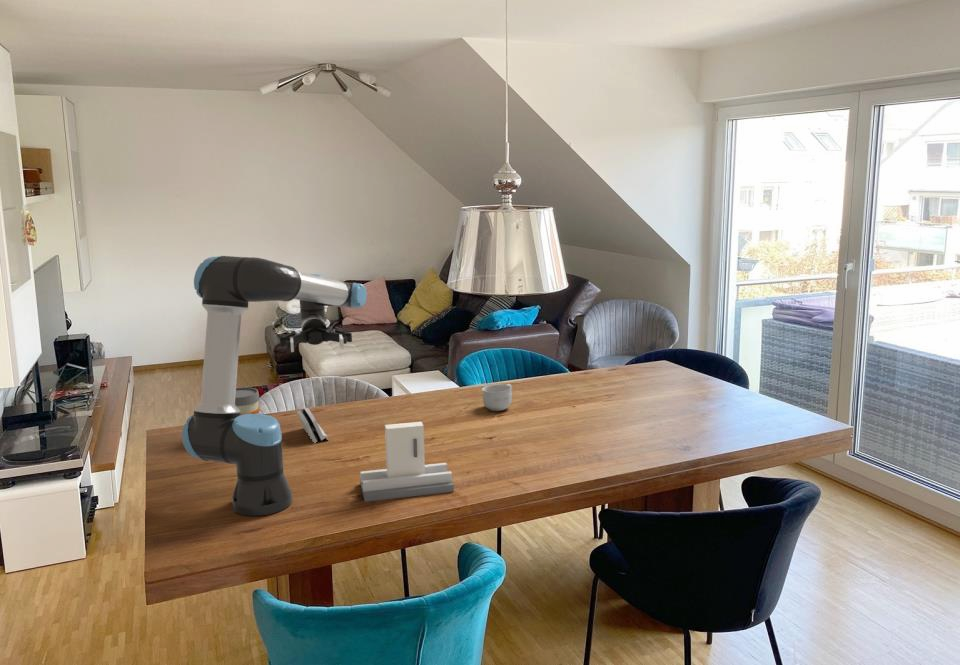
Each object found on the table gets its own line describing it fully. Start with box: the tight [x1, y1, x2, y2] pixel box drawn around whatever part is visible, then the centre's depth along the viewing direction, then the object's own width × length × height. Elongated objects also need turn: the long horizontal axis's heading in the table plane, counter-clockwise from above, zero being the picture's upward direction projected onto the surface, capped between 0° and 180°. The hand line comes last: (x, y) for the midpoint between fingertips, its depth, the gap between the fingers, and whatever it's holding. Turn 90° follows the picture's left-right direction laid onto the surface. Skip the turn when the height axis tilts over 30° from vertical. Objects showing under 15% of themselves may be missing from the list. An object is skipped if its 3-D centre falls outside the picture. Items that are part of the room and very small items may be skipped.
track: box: [359, 462, 455, 503], centre depth 210 cm, size 24×12×4 cm, turn 104°
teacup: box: [481, 383, 513, 412], centre depth 279 cm, size 14×11×8 cm
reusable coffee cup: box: [235, 386, 261, 415], centre depth 251 cm, size 13×12×15 cm
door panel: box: [384, 421, 426, 478], centre depth 208 cm, size 10×4×16 cm, turn 104°
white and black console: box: [296, 407, 330, 443], centre depth 252 cm, size 17×5×10 cm, turn 24°
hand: (317, 345), depth 212 cm, fingers open, 13 cm apart
